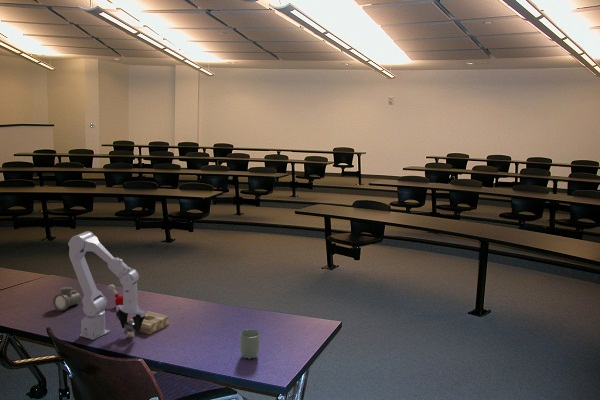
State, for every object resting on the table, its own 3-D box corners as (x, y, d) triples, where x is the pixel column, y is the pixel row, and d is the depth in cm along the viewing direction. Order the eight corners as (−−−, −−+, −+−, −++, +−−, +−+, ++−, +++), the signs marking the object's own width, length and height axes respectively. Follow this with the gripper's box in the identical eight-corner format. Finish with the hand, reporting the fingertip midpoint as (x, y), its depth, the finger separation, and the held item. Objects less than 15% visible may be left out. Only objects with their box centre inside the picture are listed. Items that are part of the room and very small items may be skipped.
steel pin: (131, 340, 222) (130, 327, 221) (121, 337, 224) (121, 324, 223) (140, 335, 227) (140, 322, 226) (131, 333, 229) (130, 320, 228)
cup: (259, 352, 215) (260, 329, 213) (258, 361, 207) (259, 337, 205) (240, 352, 215) (240, 328, 213) (238, 361, 207) (239, 337, 205)
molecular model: (138, 308, 257) (138, 288, 255) (130, 312, 252) (129, 292, 250) (112, 301, 265) (112, 282, 263) (103, 305, 260) (103, 285, 259)
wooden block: (150, 334, 229) (149, 325, 228) (129, 328, 234) (129, 319, 233) (168, 324, 239) (168, 316, 238) (148, 319, 244) (148, 311, 244)
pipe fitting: (65, 311, 249) (65, 290, 249) (52, 310, 252) (52, 289, 252) (84, 306, 260) (84, 285, 260) (71, 305, 263) (71, 284, 263)
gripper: (150, 299, 223) (150, 329, 225) (124, 292, 229) (125, 322, 232) (138, 304, 217) (138, 335, 219) (112, 297, 223) (113, 328, 225)
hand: (131, 329), depth 225 cm, fingers open, 7 cm apart
